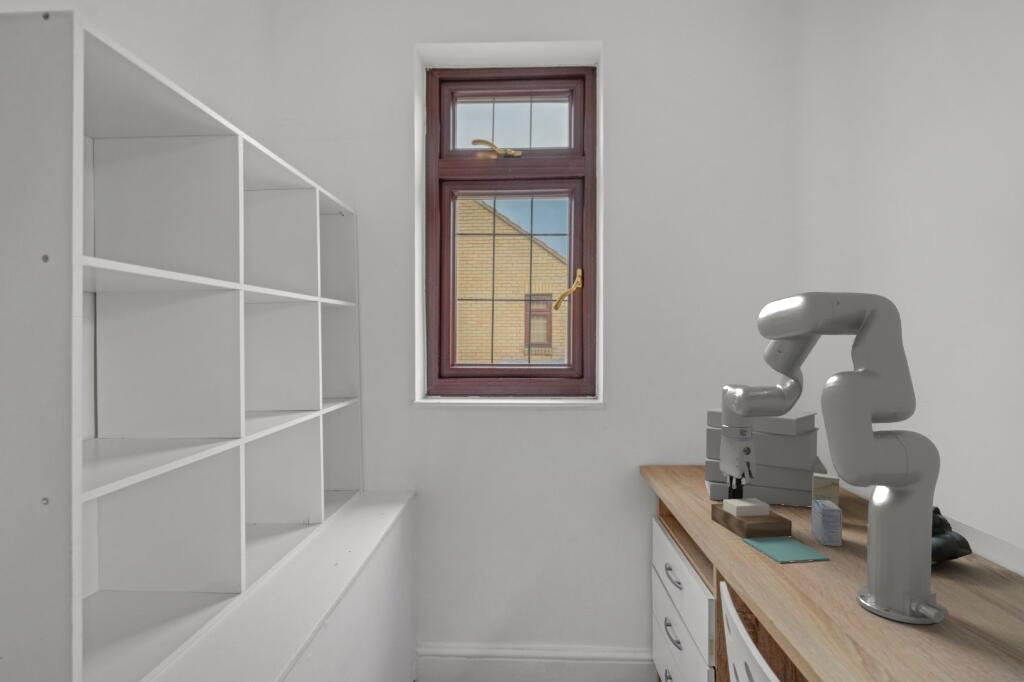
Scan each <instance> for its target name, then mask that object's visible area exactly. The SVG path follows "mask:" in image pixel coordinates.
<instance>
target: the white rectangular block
mask: <svg viewBox="0 0 1024 682" xmlns="http://www.w3.org/2000/svg"><path fill="white" fill-rule="evenodd" d="M722 502H723V503H722V504H723V510H725V511H727V512H729V513H731V514H732V515H734V516H736V517H738V516H757V515H769V510H770V504H767V503H764V502H762V501H760V500H758V499H756V498H749V499H727V500H723V501H722Z"/></svg>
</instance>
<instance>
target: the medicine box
mask: <svg viewBox="0 0 1024 682" xmlns="http://www.w3.org/2000/svg"><path fill="white" fill-rule="evenodd" d="M811 519H812V520H811V534H813V535H814V536H815V537H816V538H817V539H818V540H819V541H820V542H819V541H818V540H817V539H816V538H815V537H814V536H813V535H812V536H813V537H814V538H815V539H816V540H817V541H818V542H819V543H820V544H821V545H822V546H826V545H833V546H832V547H840V546H841V547H842V546H843V510H842V509H841V508H840V507H839V505H838V506H836V505H835V504H834V503H833V502H831V501H826V500H812V507H811Z"/></svg>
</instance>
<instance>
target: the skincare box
mask: <svg viewBox="0 0 1024 682" xmlns="http://www.w3.org/2000/svg"><path fill="white" fill-rule="evenodd" d="M839 495H840V477H839V475H838V474H837V475H835V474H828V473H827V474H820V473H813V489H812V500H826V501H831V502H833V503H834V504H835V505H836V506H838V507H839V500H840V499H839V498H840V496H839ZM811 521H812V518H811Z"/></svg>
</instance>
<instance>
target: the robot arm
mask: <svg viewBox="0 0 1024 682" xmlns="http://www.w3.org/2000/svg"><path fill="white" fill-rule="evenodd" d="M757 317H758V318H757V321H756V322H757V323H756V324H757V330H758V332H759V334H760V335H761V336H762V337H763V338H764V339H767V340H770V341H769V342H768V344H767V345H766V347H765V349H764V351H763V354H762V355H763V359H764V362H766V365H767V366H769V367H770V368H771V369H773V370H774V371H775V372H777V373H779V374H781V375H782V376H781V378H780V379H779V380H778V382H777V383H776V385H774V386H768V385H765V386H761V385H759V386H758V385H757V386H750V385H747V384H746V385H745V384H737V383H736V384H734V383H733V384H725V385H724V386H723V387H722V390H721V408H722V424H721V437H722V439H721V446H720V469H721V471H722V472H723V475H724V476H725V477H726V478H727V485H728V486H730V487H728V499H743V488H744V486H745V484H750V479H749V478H755V476H756V463H755V449H754V443H753V440H751V439H752V419H753V417H778V416H782V415H785V414H786V413H788V412H789V411H790V410H791V411H792V409H793V408H794V406H795V404H796V403H797V402H798V400H799V399H800V398H801V396H802V393H803V390H804V375H803V371H802V369H801V367H802V365H803V364H805V361H806V360H807V358H808V356H809V355H810V353H811V352H812V350H813V349H814V347H815V346H816V344H817V343H818V341H819V340H820V338H822V336H855V337H854V339H853V342H852V345H851V349H850V351H851V352H850V354H851V355H850V357H851V360H852V361H851V362H852V364H853V370H844V371H839V372H836V373H835V374H832V375H831V376H830V377H829V378H828V379H826V382H825V383H824V385H823V387H822V389H821V390H822V392H821V397H820V406H821V412H822V417H823V418H822V419H823V423H824V428H825V434H826V438H827V443H828V448H829V454H830V458H831V462H832V464H833V468H834V471H835V472H836V474H837V475H838V476H839V479H841V480H842V481H843V482H845V483H846V484H848V485H851V486H852V487H857V488H858V487H859V488H870V487H871V488H872V487H873V489H872V492H871V493H870V496H869V500H868V505H867V506H868V507H867V541H866V542H867V549H866V550H867V553H866V555H867V556H866V560H867V561H866V587H862V588H860V589H858V590H857V591H856V601H857V602H858V604H860V605H861V606H862V607H863V608H864V609H865V610H867V611H869V612H871V613H873V614H875V615H878V616H880V617H883V618H886V619H889V620H892V621H896V622H901V623H906V624H916V625H929V624H935V623H937V624H939V623H941V622H942V621H943V619H944V618H945V617H947V616H948V614H949V610H948V608H947V607H944V606H942V605H940V604H937V592H934V591H932V587H931V586H932V565H931V543H932V510H933V506H934V496H935V491H936V486H937V482H938V478H939V474H940V470H941V469H940V468H941V456H940V453H939V450H938V447H936V445H935V443H934V442H933V441H932V440H930V438H928V437H927V436H925V435H924V434H922V433H920V432H916V431H913V430H903V429H899V430H898V429H894V430H893V429H891V430H890V429H889V430H875V431H874V429H873V424H892V423H901V422H904V421H906V420H908V419H910V418H911V417H912V416H913V415H914V413H915V411H916V410H917V408H916V407H917V401H916V400H917V399H916V394H915V389H914V385H913V380H912V376H911V372H910V368H909V362H908V358H907V355H906V352H905V348H904V342H903V333H902V332H903V331H902V329H903V327H902V321H901V314H900V312H899V309H898V308H897V306H896V304H895V303H894V302H893V301H891V300H890V299H889V298H887V297H885V296H883V295H879V294H874V293H864V292H850V291H849V292H845V291H843V292H841V291H840V292H836V291H835V292H834V291H832V292H831V291H830V292H829V291H808V292H802V293H798V294H795V295H791V296H787V297H784V298H783V297H782V298H779V299H776V300H772V301H770V302H768V303H767V304H765V306H764V307H763V308H762V309H761V310H760V312H759V314H758V316H757Z"/></svg>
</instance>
